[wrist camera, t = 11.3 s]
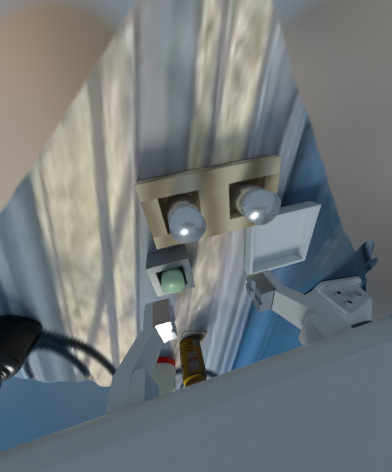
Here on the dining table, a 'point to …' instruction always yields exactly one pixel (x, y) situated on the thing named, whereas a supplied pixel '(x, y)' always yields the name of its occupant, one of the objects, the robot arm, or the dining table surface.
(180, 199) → the grey metal cylinder
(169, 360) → the white red dome
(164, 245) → the frame
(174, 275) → the button
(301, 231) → the white square tray
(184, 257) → the button housing
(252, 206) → the silver domed cylinder
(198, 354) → the condiment
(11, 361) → the ink bottle
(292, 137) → the dining table surface
